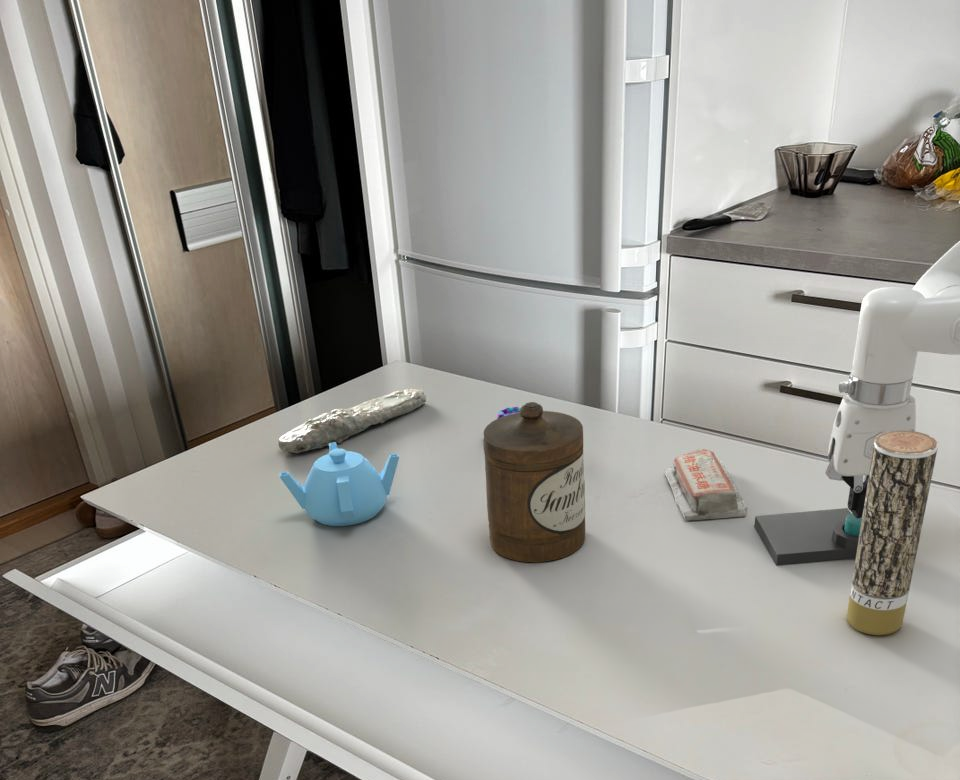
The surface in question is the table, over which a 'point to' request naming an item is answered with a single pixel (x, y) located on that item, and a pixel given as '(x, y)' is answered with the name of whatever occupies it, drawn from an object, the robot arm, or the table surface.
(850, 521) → the tare button
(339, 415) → the foil wrapped baguette
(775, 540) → the push button base
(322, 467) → the teapot
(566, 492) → the wooden container
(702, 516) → the packaged product
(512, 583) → the table surface
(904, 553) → the paper tube
